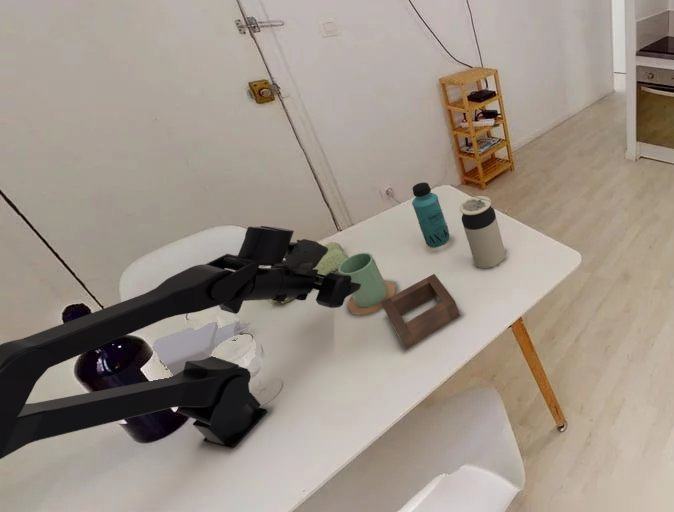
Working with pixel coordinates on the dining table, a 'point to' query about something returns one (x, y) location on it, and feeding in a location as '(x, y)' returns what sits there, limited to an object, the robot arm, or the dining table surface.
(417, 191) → the beverage bottle
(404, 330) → the cup holder
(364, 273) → the cup
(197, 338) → the charger
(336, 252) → the washcloth
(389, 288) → the coaster
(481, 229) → the travel mug
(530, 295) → the dining table surface
